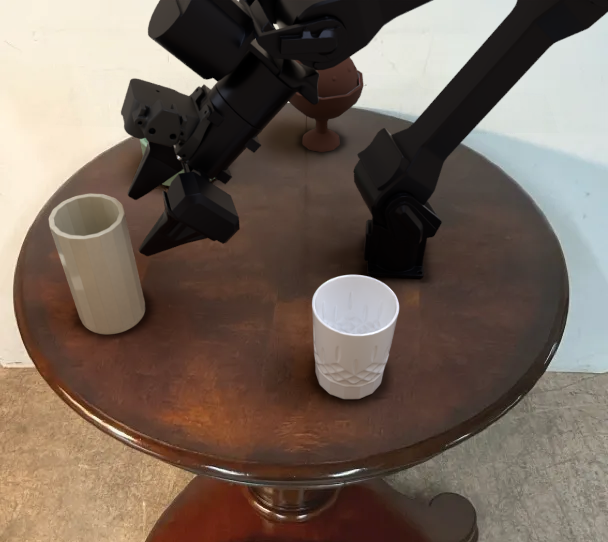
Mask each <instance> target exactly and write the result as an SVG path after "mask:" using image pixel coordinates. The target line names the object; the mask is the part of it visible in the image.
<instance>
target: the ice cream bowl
mask: <svg viewBox="0 0 608 542" xmlns="http://www.w3.org/2000/svg"><path fill="white" fill-rule="evenodd" d="M295 61H296V62H297V63H299V64H302V63H301V62H300V61H299V60H295ZM317 71H318V73H319V79H318V98H319V102H318V103H317V104H316V105H312V104H311V103H310V102H309V101H307V100H306V99H305V98H304V97H303V96H302V95H300V94H299V93H298V92H297V93H296V94H295V95H294V96H293V97H292V98H291V99H290V100H289V101H288V103H289V104H290V105H291V106H293V107H294V108H295V109H296V110H298V112H300V113H302V114H303V115H304V116H305V117H306V118H307V117H308V118H309V119H312V120H315V128H312V129H309V130H308V131H306V132H305V133H304V134H303V135H302V146H304V147H305V148H306V149H308V150H309V151H312V152H319V153H324V152H330V151H331V152H332V151H333V150H335V149H337V148H338V147H339V146H340V145H341V143H340V136H339V134H338V133H336V132H335V131H334V130H333V129H329V128H328V125H329V124H328V122H329V120H333V119H337V118H338V117H340V116H342V115H343V114H345V113H346V112H347V111H349V110H350V109H351V108H352V107H353V106H355V105H356V104H357V102H358V101H359V100H360V98H361V96H362V93H363V89H364V76H363V75H364V74H363V72H361V71H360V70H358V68H357V67H356V65H355V62H354V61H353V59H352V58H351V56H350V57H349V58H347V59H346V60H344V61H343V62H341V63H340V64H338V65H337V66H335V67H332V68H329V69H326V70H317Z"/></svg>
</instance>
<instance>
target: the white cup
mask: <svg viewBox="0 0 608 542" xmlns="http://www.w3.org/2000/svg"><path fill="white" fill-rule="evenodd" d="M311 311H312V313H311V314H312V341H313V355H314V362H315V364H314V365H315V375H316V378H317V381H318V384H319V386H320V387H321V388H322V389H323V390H324V391H326V392H327V393H328V394H329V395H331V396H334V397H337V398H339V399H342V400H360V399H362V398H365V397H367V396H370V395H372V394H373V393H374V392H375V391H376V390H377V389H378V388H379V387H380V385H382V381H383V376H384V371H385V368H386V365H387V363H388V359H389V357H390V351H391V348H392V344H393V340H394V335H395V330H396V326H397V321H398V316H399V312H400V302H399V299H398V297H397V295H396V293H395V292H394V291H393V290H392V289H391V288H390V286H388V285H387V284H386V283H384V282H383V281H381V280H379V279H376V278H374V277H371V276H369V275H368V276H367V275H361V274H345V275H339V276H335V277H332V278H330V279H328V280H327V281H325V282H323V283H322V284H320V285H319V287H317V289H316V290H315V292H314V294H313V296H312V300H311Z"/></svg>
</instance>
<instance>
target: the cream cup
mask: <svg viewBox="0 0 608 542" xmlns="http://www.w3.org/2000/svg"><path fill="white" fill-rule="evenodd" d="M48 225H49V229H50V232H51V235H52V239H53V242H54V244H55V247H56V251H57V254H58V257H59V260H60V263H61V265H62V268H63V272H64V273H65V274H64V275H65V278H66V282H67V284H68V286H69V290H70V293H71V296H72V299H73V302H74V304H75V308H76V311H77V314H78V317H79V319H80V322H81V323H82V325H83V327H85V328H86V329H87V330H89V331H90V332H92V333H95V334H99V335H115V334H120V333H123V332H126V331H128V330H130V329H133V328H134V327H135V326H137V324H139V322H141V320H142V319H143V317H144V316H145V312H146V302H145V297H144V293H143V289H142V284H141V280H140V275H139V271H138V270H139V269H138V266H137V262H136V258H135V253H134V248H133V244H132V240H131V235H130V231H129V227H128V222H127V218H126V212H125V209H124V205H123V203H121V202H120V201H119V200H118V199H117V198H115V197H113V196H110V195H107V194H103V193H84V194H79V195H75V196H72V197H70V198H68V199H65V200H63V201H62V202H60V203H58V205H56V206H55V207H54V208H53V209H52V210H51V212H50V214H49V217H48Z"/></svg>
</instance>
